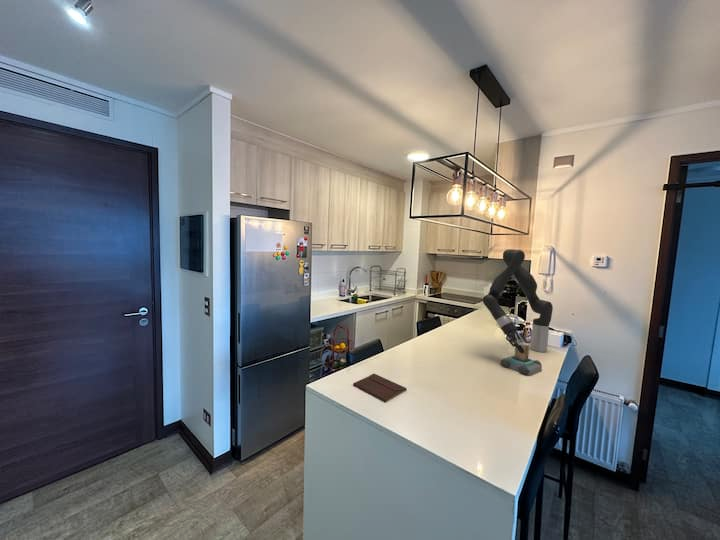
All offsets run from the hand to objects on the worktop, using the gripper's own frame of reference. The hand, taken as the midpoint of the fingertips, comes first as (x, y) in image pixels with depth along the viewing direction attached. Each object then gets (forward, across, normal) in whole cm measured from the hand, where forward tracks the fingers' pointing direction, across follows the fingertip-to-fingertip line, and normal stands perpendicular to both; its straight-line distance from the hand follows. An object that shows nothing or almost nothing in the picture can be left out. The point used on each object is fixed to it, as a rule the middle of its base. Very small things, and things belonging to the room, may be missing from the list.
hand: (525, 351), depth 161 cm
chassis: (+6, 0, +8) cm, 10 cm away
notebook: (-9, -83, +24) cm, 87 cm away
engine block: (+2, 0, +4) cm, 5 cm away
